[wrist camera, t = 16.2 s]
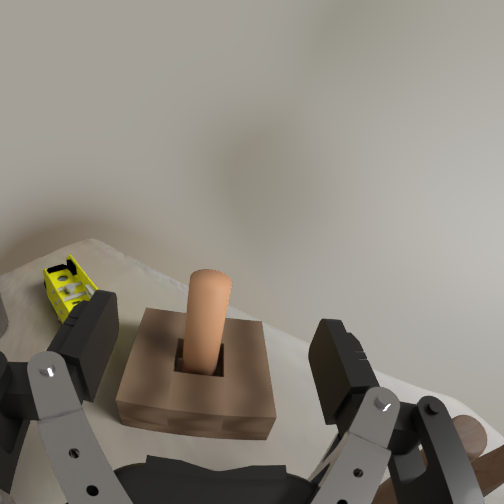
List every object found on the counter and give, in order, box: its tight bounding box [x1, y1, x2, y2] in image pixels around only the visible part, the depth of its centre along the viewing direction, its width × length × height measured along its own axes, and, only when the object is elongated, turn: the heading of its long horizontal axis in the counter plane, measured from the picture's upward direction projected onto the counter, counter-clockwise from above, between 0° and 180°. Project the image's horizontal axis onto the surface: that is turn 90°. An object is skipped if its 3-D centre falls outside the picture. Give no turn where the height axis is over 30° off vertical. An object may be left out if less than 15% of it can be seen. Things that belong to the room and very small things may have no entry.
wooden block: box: [371, 415, 504, 504], centre depth 15 cm, size 4×11×18 cm, turn 76°
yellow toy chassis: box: [43, 254, 99, 324], centre depth 38 cm, size 16×6×8 cm, turn 50°
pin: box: [182, 269, 232, 376], centre depth 31 cm, size 4×4×14 cm
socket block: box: [116, 308, 276, 440], centre depth 34 cm, size 16×16×5 cm
